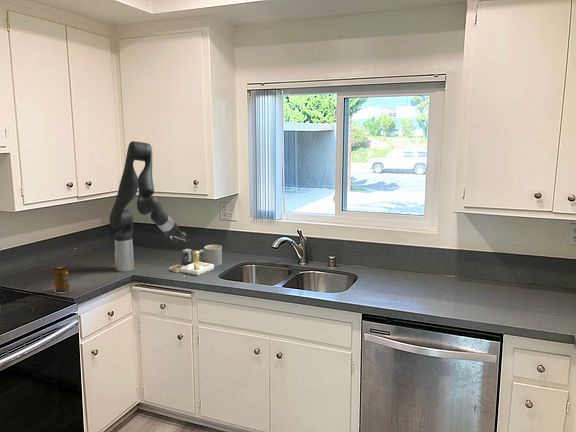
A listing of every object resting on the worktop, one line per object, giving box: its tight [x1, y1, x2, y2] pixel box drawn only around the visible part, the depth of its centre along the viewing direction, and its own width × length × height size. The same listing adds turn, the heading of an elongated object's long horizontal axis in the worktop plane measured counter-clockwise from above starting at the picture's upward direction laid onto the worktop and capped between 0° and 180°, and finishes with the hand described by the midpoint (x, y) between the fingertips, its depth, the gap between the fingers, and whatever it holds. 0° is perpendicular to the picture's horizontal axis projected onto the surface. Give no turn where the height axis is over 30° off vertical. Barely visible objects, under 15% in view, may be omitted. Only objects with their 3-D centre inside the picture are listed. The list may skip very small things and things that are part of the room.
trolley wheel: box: [181, 248, 194, 266], centre depth 261 cm, size 4×7×10 cm, turn 151°
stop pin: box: [191, 249, 201, 270], centre depth 252 cm, size 4×4×10 cm
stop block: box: [169, 264, 184, 273], centre depth 254 cm, size 6×6×2 cm
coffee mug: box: [199, 244, 223, 267], centre depth 266 cm, size 13×10×10 cm
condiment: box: [53, 265, 70, 292], centre depth 221 cm, size 7×8×12 cm
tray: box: [179, 261, 215, 276], centre depth 254 cm, size 12×14×2 cm
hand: (183, 242), depth 242 cm, fingers open, 8 cm apart
